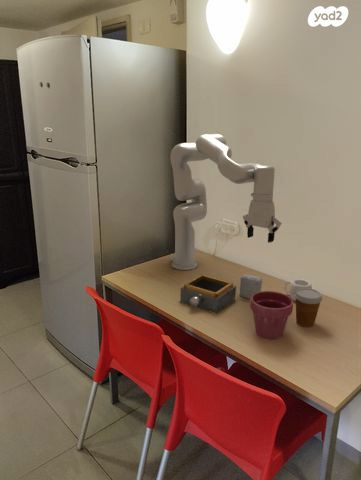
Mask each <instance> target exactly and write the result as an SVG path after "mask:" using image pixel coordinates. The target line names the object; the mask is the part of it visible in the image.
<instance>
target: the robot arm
mask: <svg viewBox="0 0 361 480" xmlns="http://www.w3.org/2000/svg"><path fill="white" fill-rule="evenodd" d="M232 155H233V152H232V149H231V148H230V146H228V145H227V140H226V138H225V137H224V135H222V134H219V133H206V134H201V135H200V136H198V137H197V139H196V141H193V142H192V141H191V142H181V143H178V144H176V145H175V146H174V147H173V148H172V149H171V152H170V164H171V167H172V168H171V169H172V175H173V186H174V197H175V198H176V200H178V201H183V203H180V204H179V205H178V204H177V206H175V208H174V209H173V214H172V215H173V220H174V231H175V234H174V239H175V241H174V243H175V244H174V247H175V248H174V254H173V253H170V255H169V258H168V259H170V260H172V262H171V266H172V268H174V269H175V270H180V271H181V270H182V271H189V270H194V269H196V268H197V267H198V263H197V261H196V260H195V243H196V242H195V240H196V239H195V235H196V234H195V233H196V231H195V229H194V228H195V227H194V226H193V224H192V223H193V222H197V221H201V220H203V219H205V218H206V216H207V213H208V205H207V189H206V186H205V184H204V182H203V181H202V180H201V179H199V178H192V176H193V175H192V170H191V167H190V166H189V164H188V162H199V161H200V162H201V161H205V160H207V159H208V160H210V161H211V162H213V163H214V164H215V165H217V168H218V171H219V173H220V174H221V176H223V177H224V178H225V179H227V180H229V181H230V182H232V183H234V184H239V185H241V184H248V183H253V192H252V193H250V196H251V197H252V199H250V203H249V206H248V212H247V213H248V214H244V215H242V219H243V222H244V224H245V225H246V228H247V229H246V230H247V236H246V237H247V238H252V237H254V229H255V228H254V227H259V228H264V229H267V230H268V234H267V243H269V244H270V243H272V242H274V240H275V233H276V232H277V231H278V230H279V229H280V227H281V225H282V222H281V221H280V220H278V218H276V216H275V215H276V213H275V212H276V209H275V203H274V201H273V199H274V186H275V184H274V183H275V173H276V172H275V167H274V166H273V165H269V164H266V165H265V164H260V163H256V162H249V163H237V162H235V161H233V160H232V159H231V158H232ZM190 200H191V201H190ZM184 201H190V202H184ZM274 225H275V226H274Z"/></svg>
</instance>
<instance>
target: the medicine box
mask: <svg viewBox="0 0 361 480" xmlns="http://www.w3.org/2000/svg"><path fill="white" fill-rule="evenodd" d="M262 283H263V278H262V277H261V276H260V277H259V276H255V275H250V274H246V273H244V274H243V275H242V276H241V277H240V285H239V297H243V298H247V299H250V300H251V297H252V295H253V294H255V293H257V292H261V291H262V285H263V284H262Z"/></svg>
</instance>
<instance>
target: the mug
mask: <svg viewBox="0 0 361 480" xmlns="http://www.w3.org/2000/svg"><path fill="white" fill-rule="evenodd" d="M288 283H290V286H289V291H288V288H287V286H288ZM301 288H310V289H313V287H312V283H311V281H309V280H306V279H302V278H295V279H292V281H291V280H287V281H286V282H285V284H284V290H285V292H286V293H287V294H289V295H290V298H292V300H293V302H296V298H295V293H296V291H297V290H298V289H301Z"/></svg>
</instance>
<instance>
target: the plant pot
mask: <svg viewBox="0 0 361 480" xmlns="http://www.w3.org/2000/svg"><path fill="white" fill-rule="evenodd" d="M249 305H250V310H251V311H252V314H253V315H252V316H253V321H254V327H255V332H256V334H257V335H258V336H259V337H262V338H264V339H268V340H276V339H280V338H281V337H283V334H284V330H285V328H286V325H287V323H288V320H289V316H291V315H292V313H293V310H294V309H293V308H294V300H293V299H292V298H291V296H289V295H288V294H285V293H282V292H278V291H273V290H261V292H257V293H255V294H253V295H252V297H251V299H250V304H249Z"/></svg>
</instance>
